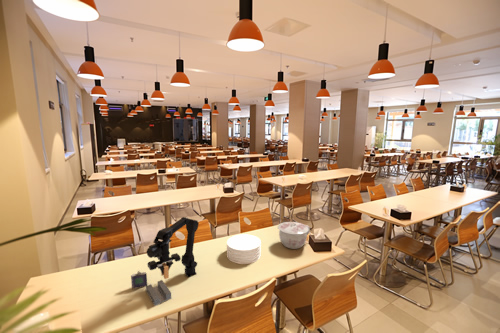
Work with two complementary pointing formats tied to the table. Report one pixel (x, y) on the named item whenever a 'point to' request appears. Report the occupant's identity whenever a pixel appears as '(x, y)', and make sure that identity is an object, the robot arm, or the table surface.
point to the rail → (158, 293)
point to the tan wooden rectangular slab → (165, 271)
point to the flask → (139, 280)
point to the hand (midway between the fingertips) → (164, 273)
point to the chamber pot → (293, 234)
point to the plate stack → (243, 248)
